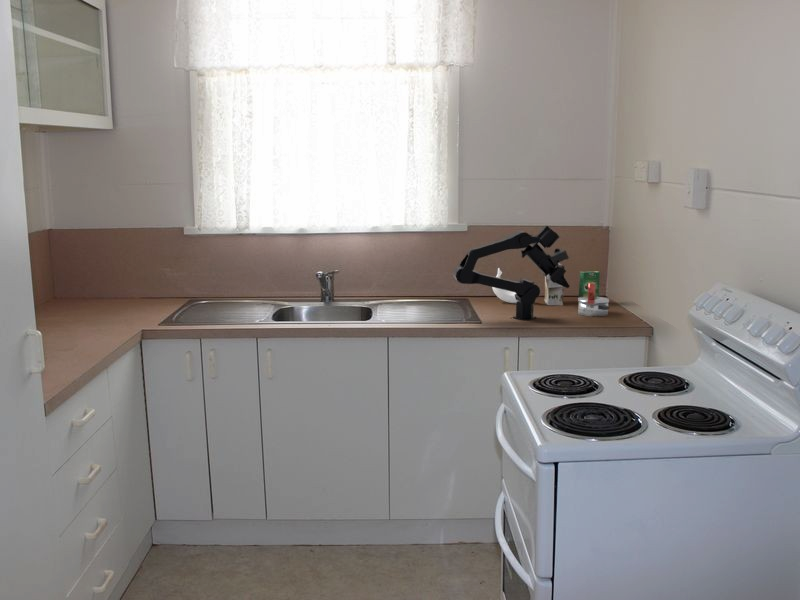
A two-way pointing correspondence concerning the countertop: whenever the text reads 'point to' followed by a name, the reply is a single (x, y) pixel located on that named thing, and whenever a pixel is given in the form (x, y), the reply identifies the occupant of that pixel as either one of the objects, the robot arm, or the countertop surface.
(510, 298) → the banana
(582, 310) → the pot
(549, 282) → the coffee box
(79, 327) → the countertop surface
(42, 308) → the countertop surface
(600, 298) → the lid
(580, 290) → the coffee box
